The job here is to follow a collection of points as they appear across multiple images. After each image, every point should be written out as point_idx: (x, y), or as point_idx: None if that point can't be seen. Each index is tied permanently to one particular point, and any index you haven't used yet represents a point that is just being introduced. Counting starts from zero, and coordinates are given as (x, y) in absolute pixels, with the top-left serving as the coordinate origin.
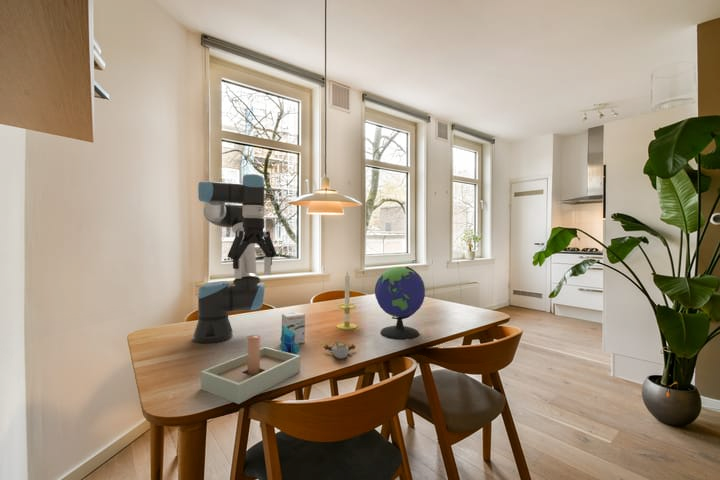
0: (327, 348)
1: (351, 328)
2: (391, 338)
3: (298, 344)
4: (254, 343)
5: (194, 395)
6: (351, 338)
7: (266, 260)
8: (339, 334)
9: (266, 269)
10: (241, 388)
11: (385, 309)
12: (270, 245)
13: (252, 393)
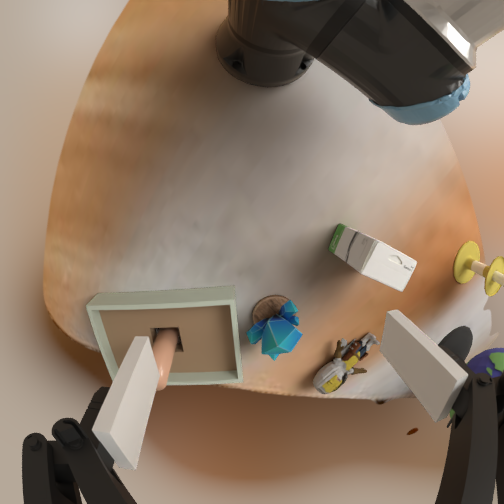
0: (336, 350)
1: (458, 281)
2: None
3: (275, 359)
4: None
5: (86, 303)
6: (416, 319)
7: (433, 385)
8: (429, 286)
9: (399, 345)
10: None
11: None
12: (496, 473)
13: None
